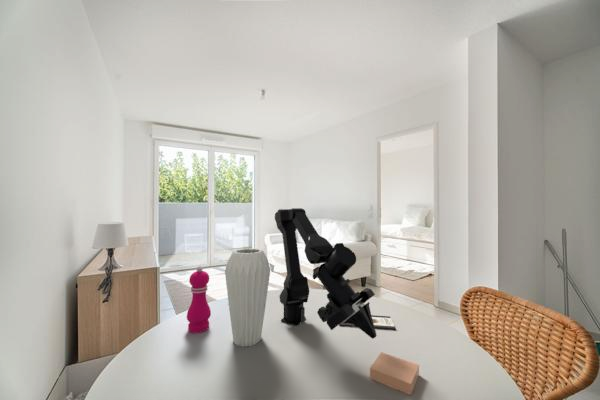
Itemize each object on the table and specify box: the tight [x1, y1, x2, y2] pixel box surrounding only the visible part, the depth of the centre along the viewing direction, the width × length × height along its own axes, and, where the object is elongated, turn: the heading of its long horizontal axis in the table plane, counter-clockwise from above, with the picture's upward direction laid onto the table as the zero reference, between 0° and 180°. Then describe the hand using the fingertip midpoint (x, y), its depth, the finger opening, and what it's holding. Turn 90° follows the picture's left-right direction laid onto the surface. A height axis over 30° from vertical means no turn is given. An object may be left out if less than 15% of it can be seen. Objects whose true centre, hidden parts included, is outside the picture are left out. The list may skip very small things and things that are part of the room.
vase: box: [224, 248, 271, 348], centre depth 77 cm, size 13×13×26 cm
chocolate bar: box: [338, 314, 397, 331], centre depth 88 cm, size 9×1×18 cm
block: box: [369, 351, 420, 395], centre depth 60 cm, size 3×8×9 cm
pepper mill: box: [186, 266, 212, 334], centre depth 83 cm, size 7×7×20 cm
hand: (374, 337), depth 63 cm, fingers closed
